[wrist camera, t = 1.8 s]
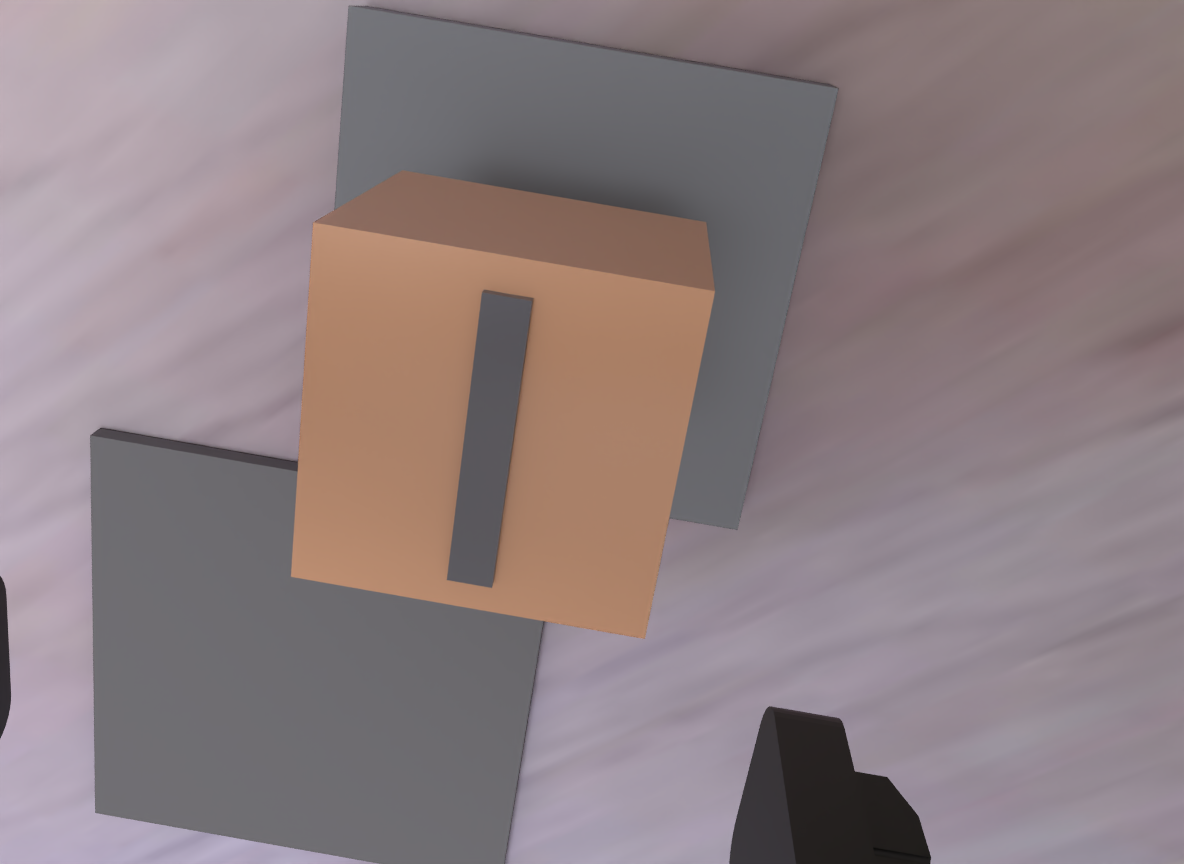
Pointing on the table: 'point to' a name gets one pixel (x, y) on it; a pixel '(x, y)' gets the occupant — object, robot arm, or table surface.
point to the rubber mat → (287, 675)
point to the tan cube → (497, 398)
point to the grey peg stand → (613, 178)
